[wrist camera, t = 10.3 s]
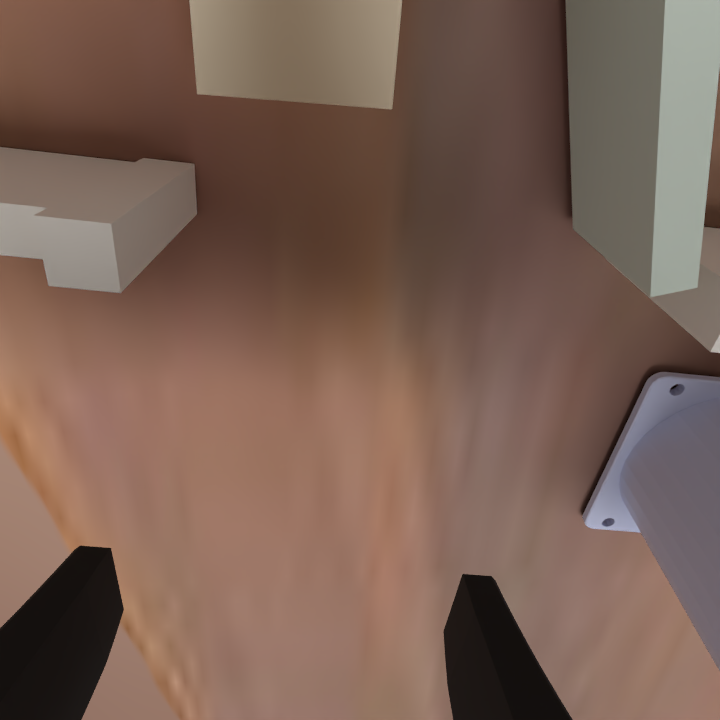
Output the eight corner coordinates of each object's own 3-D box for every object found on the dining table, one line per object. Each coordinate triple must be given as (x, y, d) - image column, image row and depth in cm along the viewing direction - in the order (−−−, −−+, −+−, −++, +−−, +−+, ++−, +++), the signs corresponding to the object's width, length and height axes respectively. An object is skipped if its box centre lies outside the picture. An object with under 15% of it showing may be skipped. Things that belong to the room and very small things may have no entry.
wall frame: (806, 233, 16) (1007, 319, 11) (781, 277, 17) (959, 376, 12) (-70, 133, 15) (-295, 180, 10) (-55, 186, 16) (-255, 255, 11)
